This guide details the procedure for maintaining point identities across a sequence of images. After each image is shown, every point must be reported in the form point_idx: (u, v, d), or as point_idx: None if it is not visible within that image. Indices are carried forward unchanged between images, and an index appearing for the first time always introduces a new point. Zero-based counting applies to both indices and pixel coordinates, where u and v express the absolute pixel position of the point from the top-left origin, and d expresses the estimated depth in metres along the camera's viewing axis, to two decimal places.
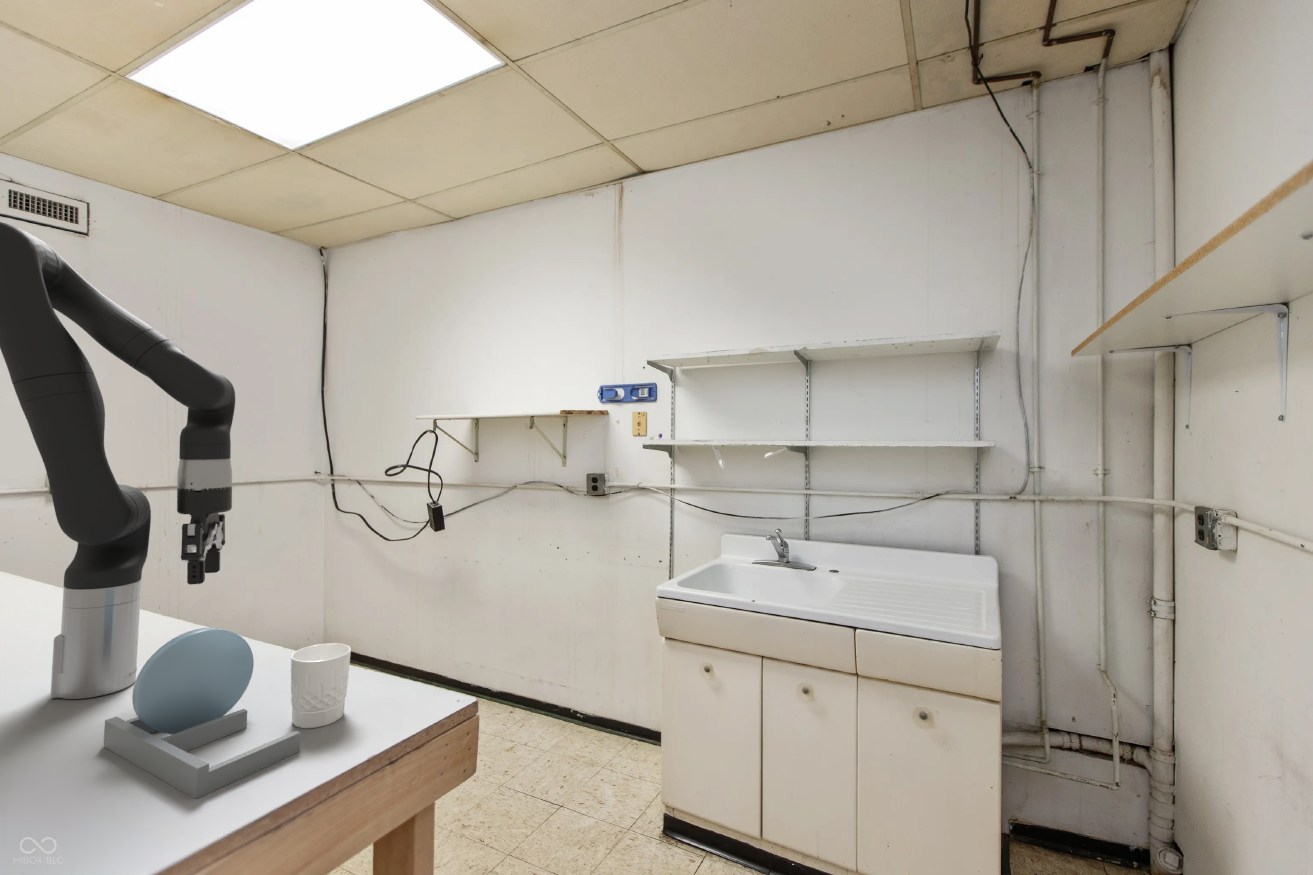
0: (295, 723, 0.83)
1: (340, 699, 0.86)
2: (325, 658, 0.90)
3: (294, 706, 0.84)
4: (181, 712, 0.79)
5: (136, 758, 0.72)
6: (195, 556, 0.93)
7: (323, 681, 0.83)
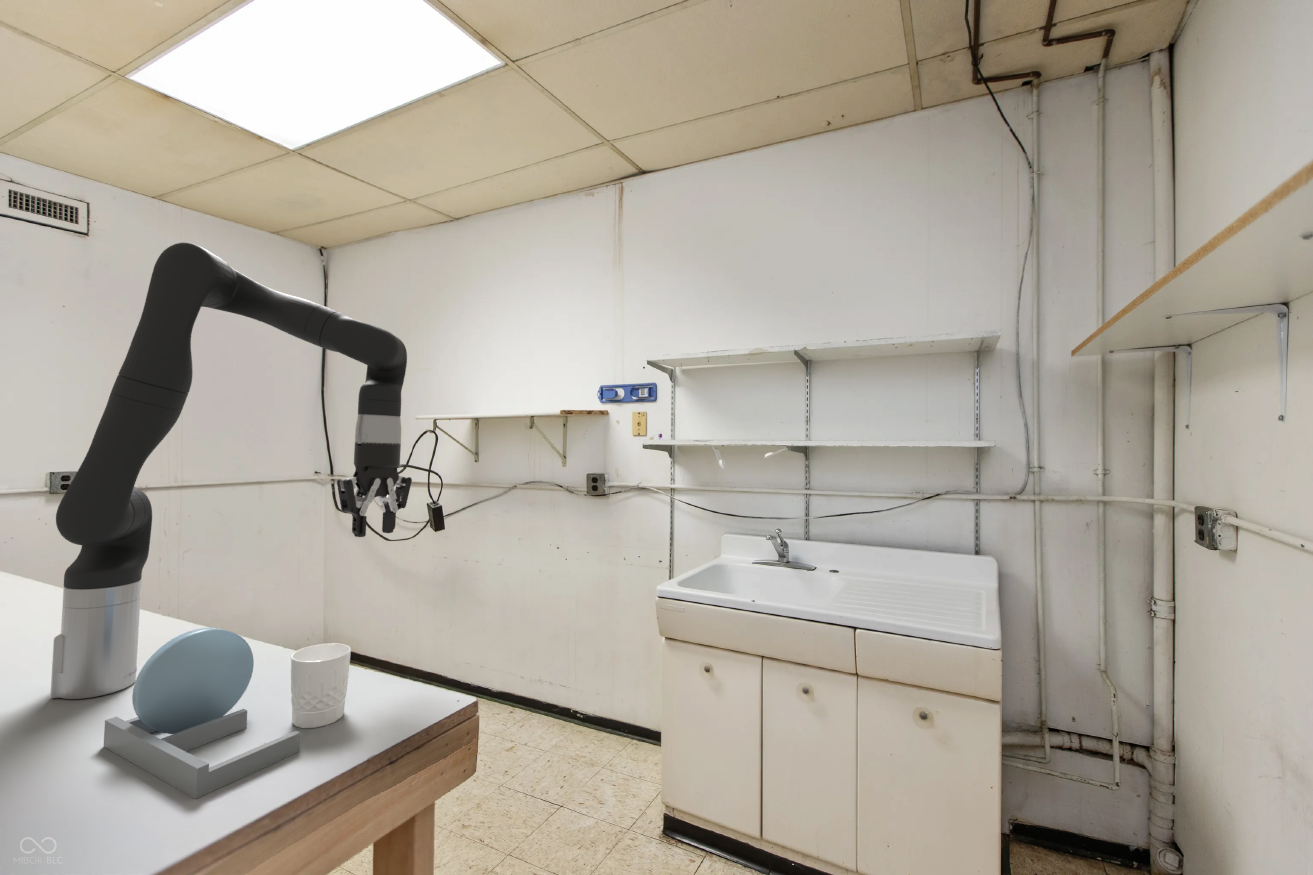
0: (295, 723, 0.83)
1: (340, 699, 0.86)
2: (325, 658, 0.90)
3: (294, 706, 0.84)
4: (181, 712, 0.79)
5: (136, 758, 0.72)
6: (348, 509, 0.97)
7: (323, 681, 0.83)
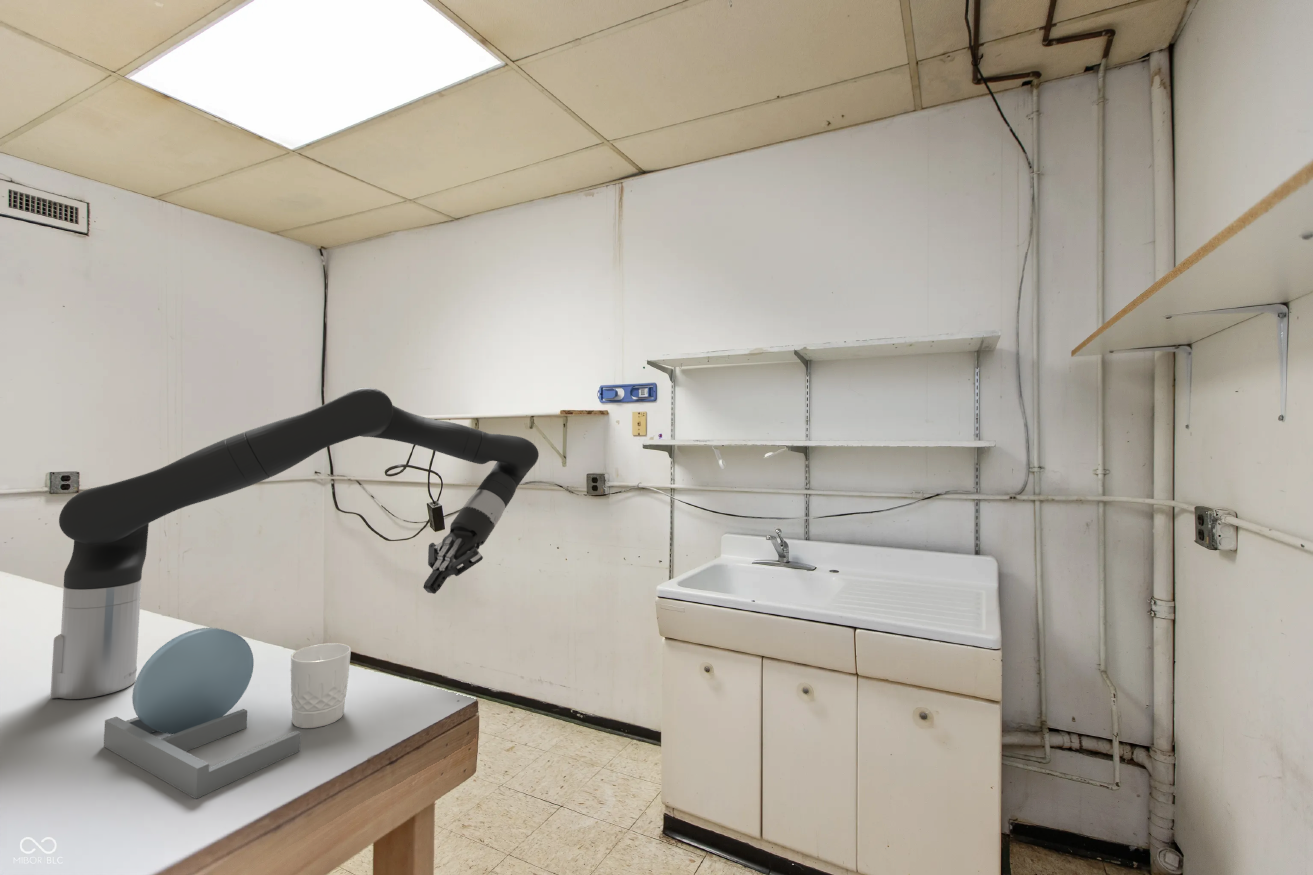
0: (295, 723, 0.83)
1: (340, 699, 0.86)
2: (325, 658, 0.90)
3: (294, 706, 0.84)
4: (181, 712, 0.79)
5: (136, 758, 0.72)
6: (458, 571, 1.07)
7: (323, 681, 0.83)
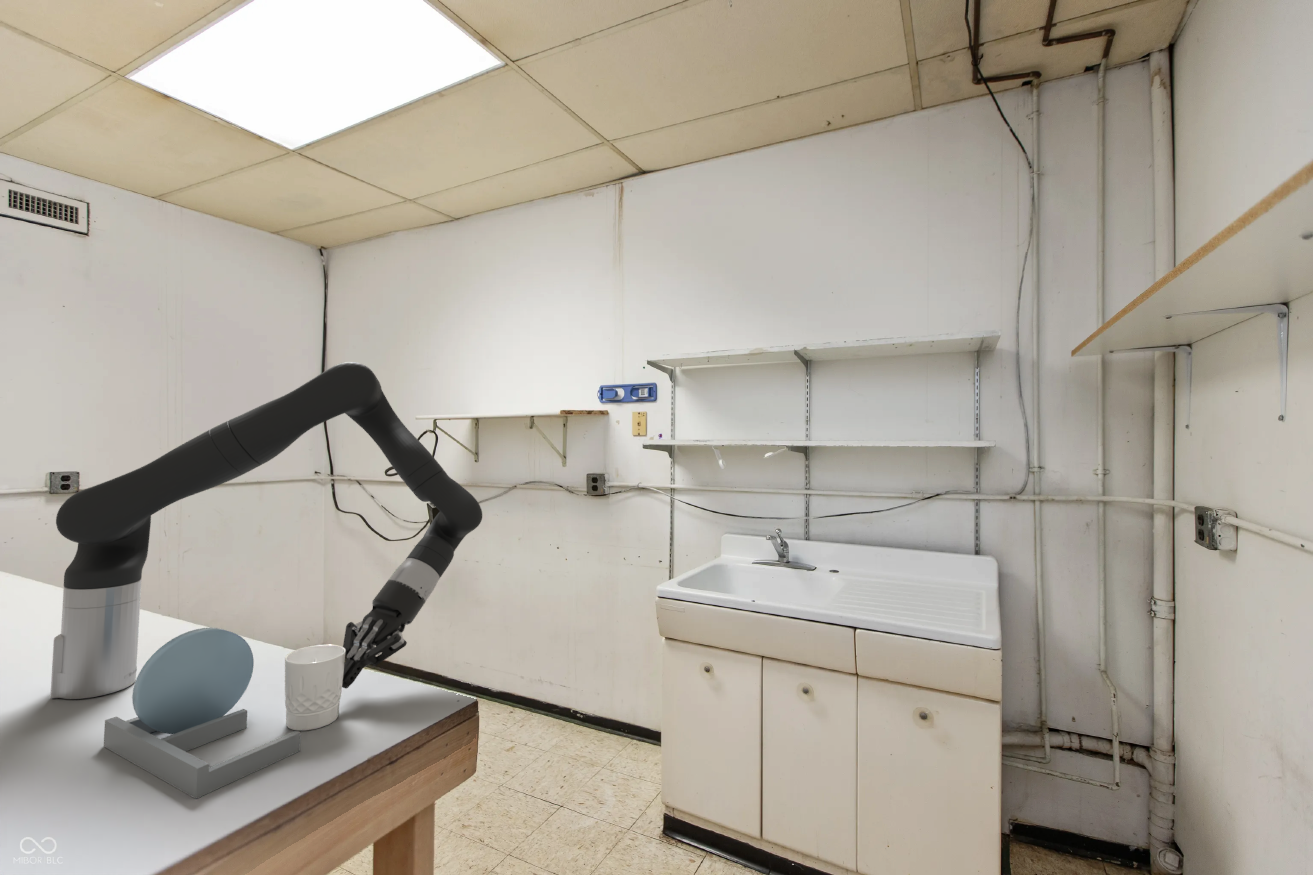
0: (289, 725, 0.83)
1: (334, 701, 0.85)
2: (320, 659, 0.89)
3: (288, 708, 0.83)
4: (181, 712, 0.79)
5: (136, 758, 0.72)
6: (376, 661, 0.92)
7: (316, 682, 0.83)
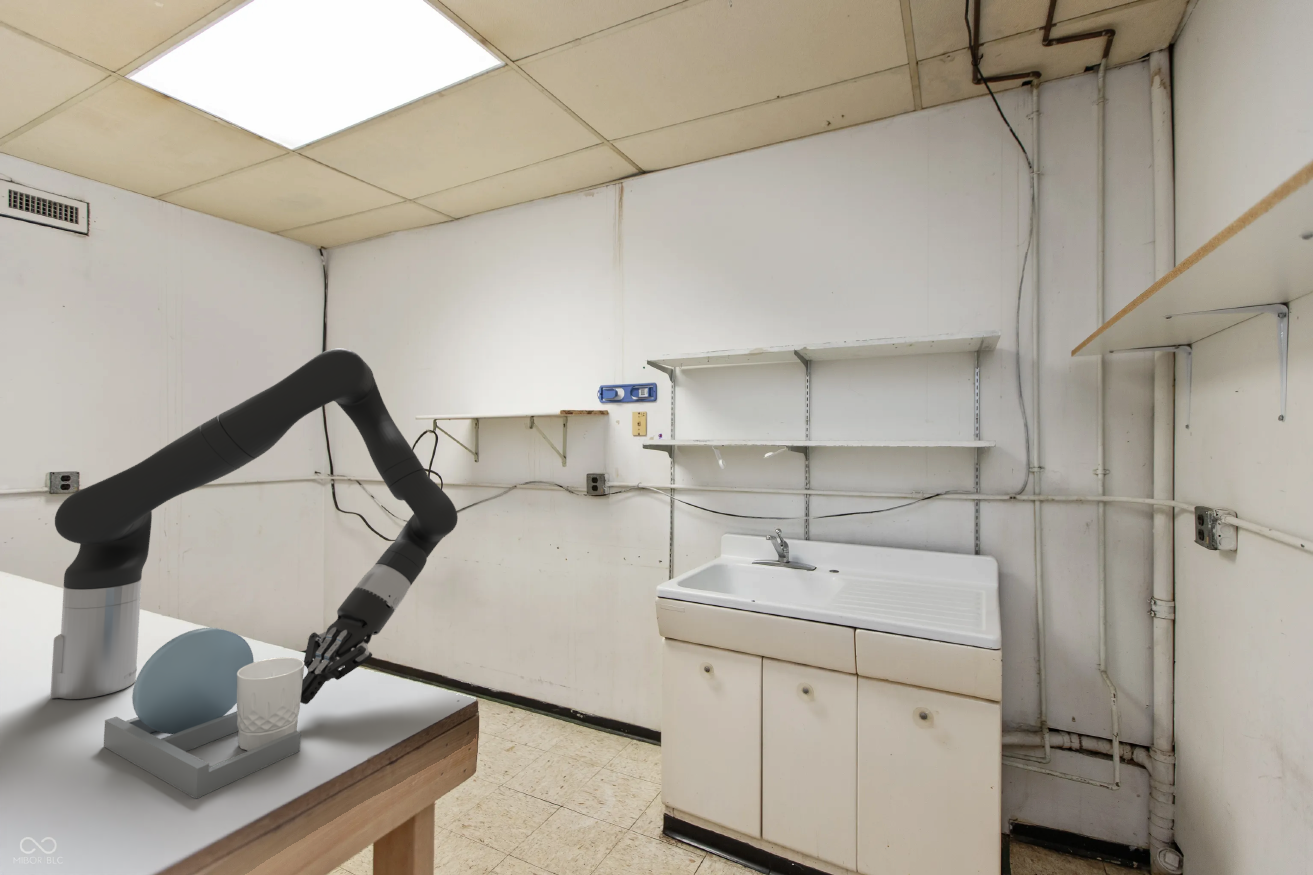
0: (240, 745, 0.77)
1: (290, 719, 0.79)
2: (278, 673, 0.83)
3: (239, 726, 0.77)
4: (181, 712, 0.79)
5: (136, 758, 0.72)
6: (339, 674, 0.86)
7: (270, 699, 0.77)
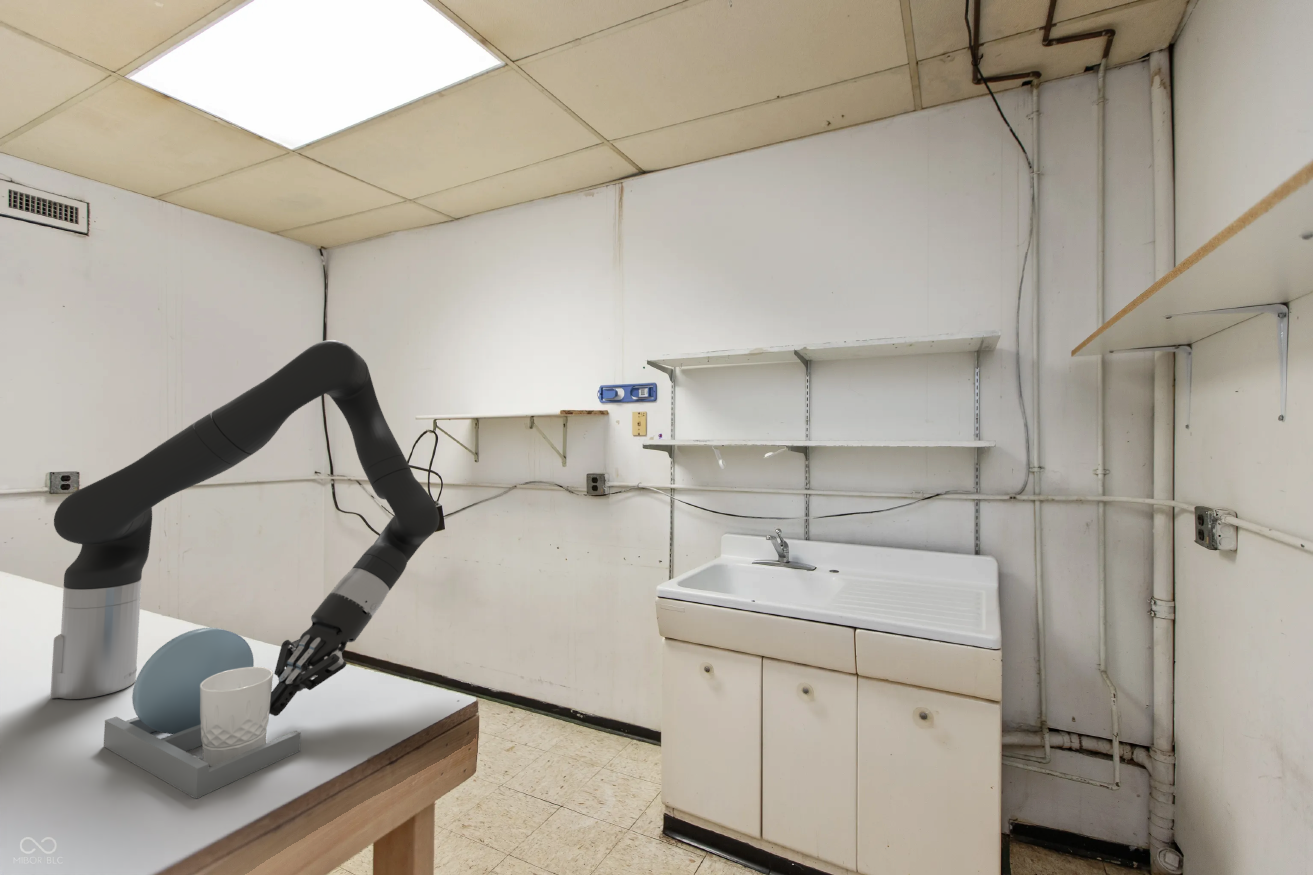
0: (204, 760, 0.73)
1: (257, 733, 0.75)
2: (247, 684, 0.79)
3: (203, 741, 0.73)
4: (181, 712, 0.79)
5: (136, 758, 0.72)
6: (311, 684, 0.82)
7: (234, 713, 0.73)
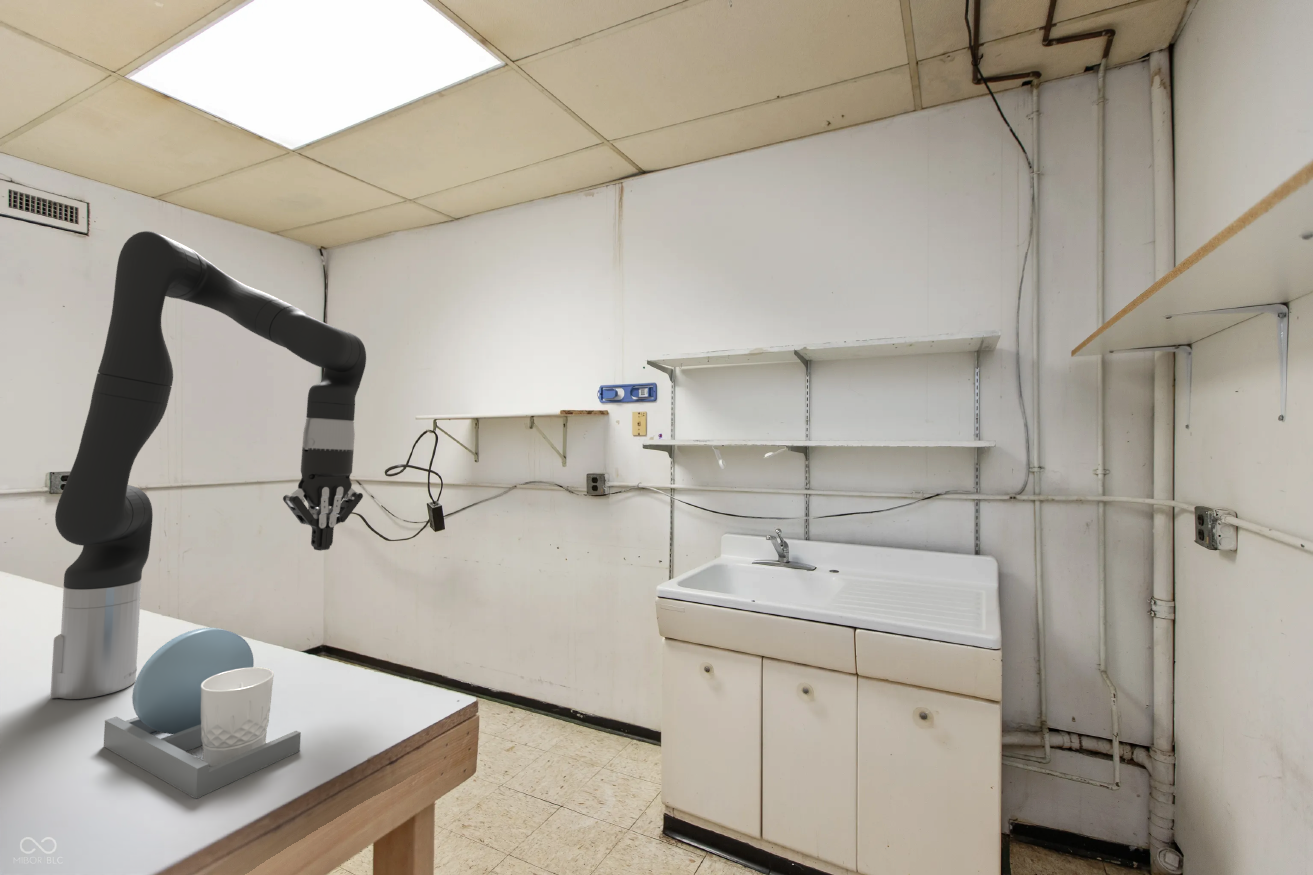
0: None
1: (258, 733, 0.75)
2: (247, 684, 0.79)
3: (203, 741, 0.73)
4: (181, 712, 0.79)
5: (136, 758, 0.72)
6: (307, 521, 0.92)
7: (234, 713, 0.73)
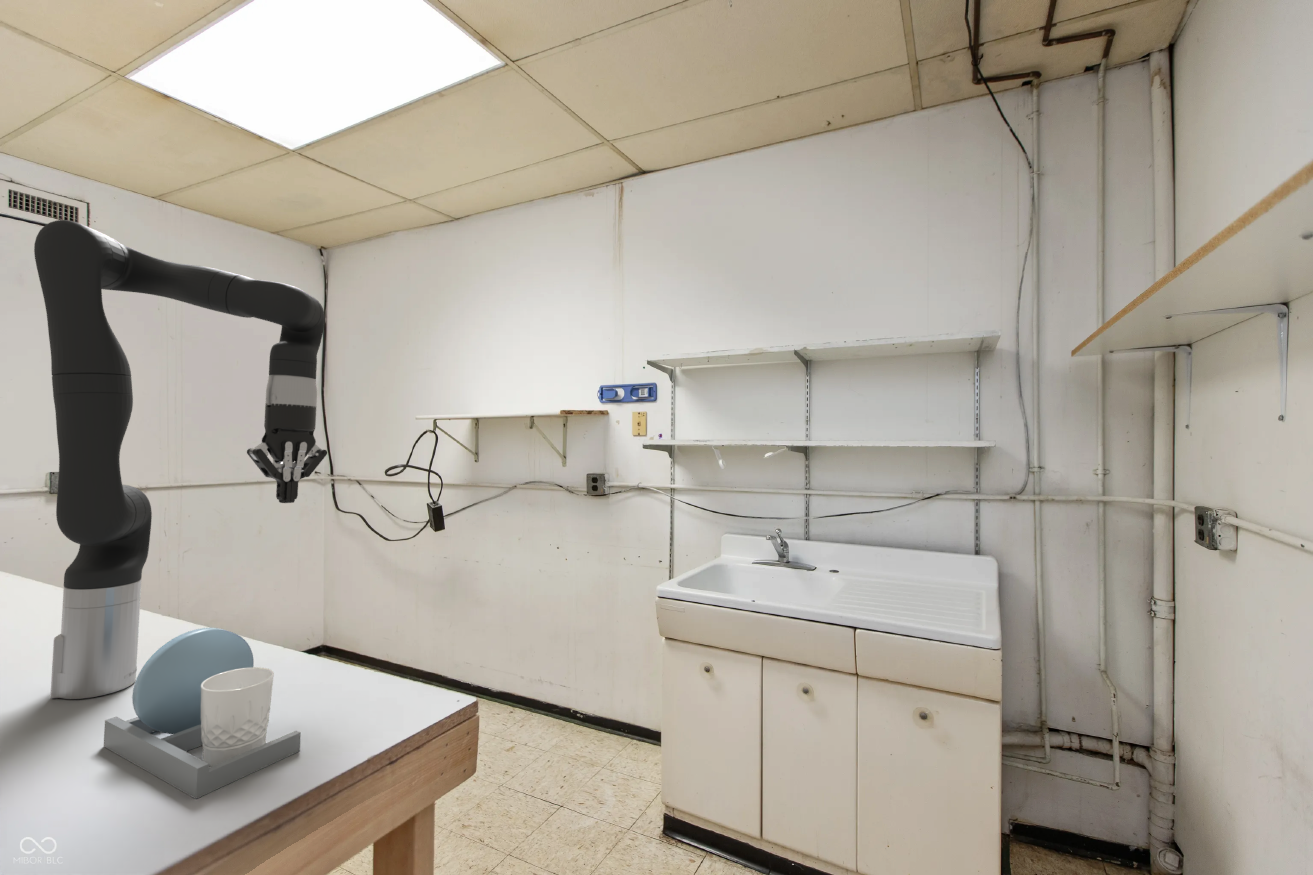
0: None
1: (257, 733, 0.75)
2: (247, 684, 0.79)
3: (203, 741, 0.73)
4: (181, 712, 0.79)
5: (136, 758, 0.72)
6: None
7: (234, 713, 0.73)
